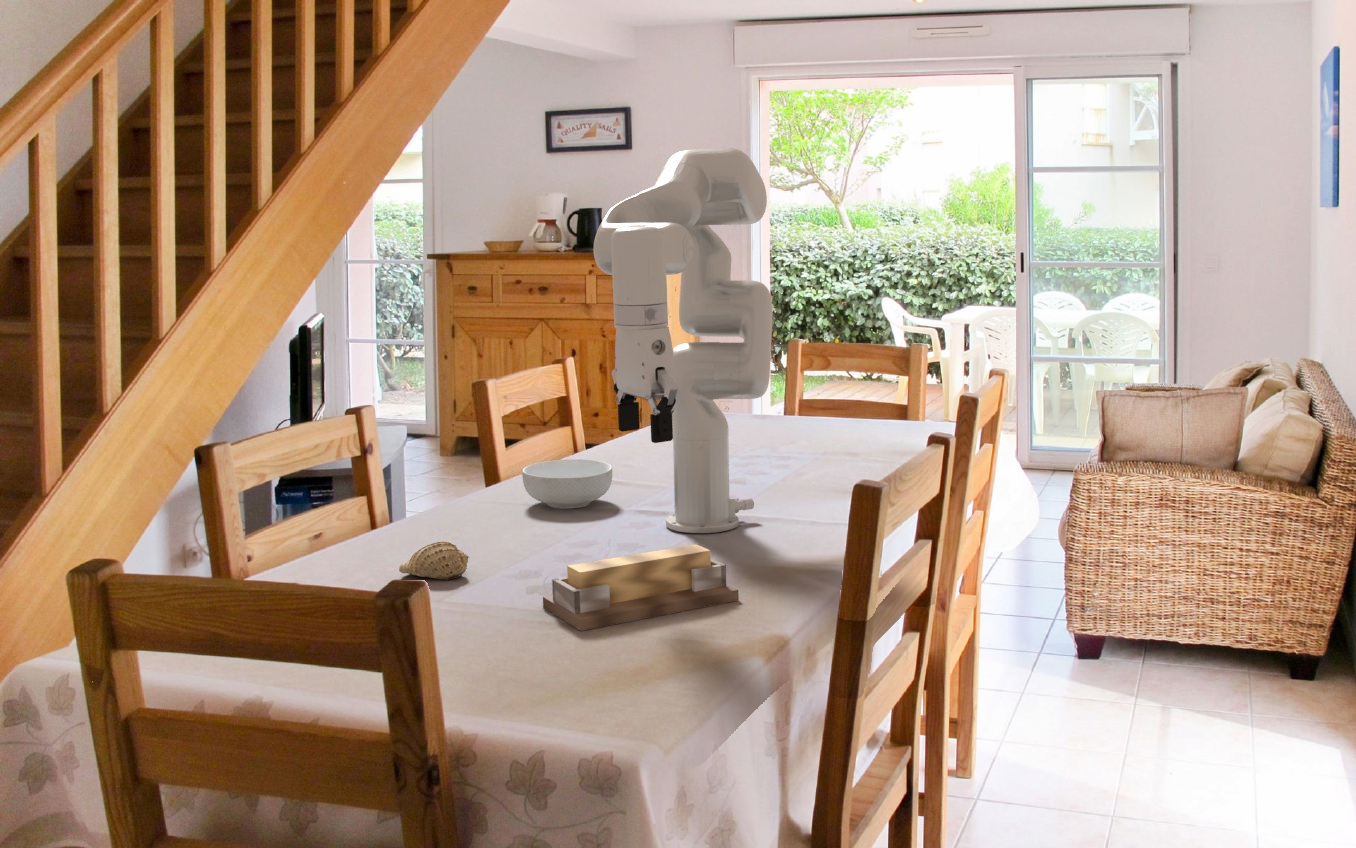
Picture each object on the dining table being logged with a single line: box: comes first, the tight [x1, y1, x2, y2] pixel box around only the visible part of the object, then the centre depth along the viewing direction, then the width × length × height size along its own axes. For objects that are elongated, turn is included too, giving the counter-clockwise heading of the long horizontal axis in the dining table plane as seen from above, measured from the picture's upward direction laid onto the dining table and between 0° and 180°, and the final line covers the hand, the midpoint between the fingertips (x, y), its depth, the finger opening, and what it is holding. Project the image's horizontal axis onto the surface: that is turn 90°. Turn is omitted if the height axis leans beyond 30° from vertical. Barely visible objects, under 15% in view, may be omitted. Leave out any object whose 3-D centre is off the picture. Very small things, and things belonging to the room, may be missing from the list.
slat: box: [566, 543, 712, 604], centre depth 171 cm, size 20×4×5 cm, turn 120°
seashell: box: [398, 541, 470, 581], centre depth 187 cm, size 8×6×10 cm
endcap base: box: [542, 558, 739, 632], centre depth 171 cm, size 24×12×4 cm, turn 119°
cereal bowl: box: [521, 458, 613, 510], centre depth 234 cm, size 17×17×7 cm
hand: (645, 435), depth 178 cm, fingers open, 9 cm apart
